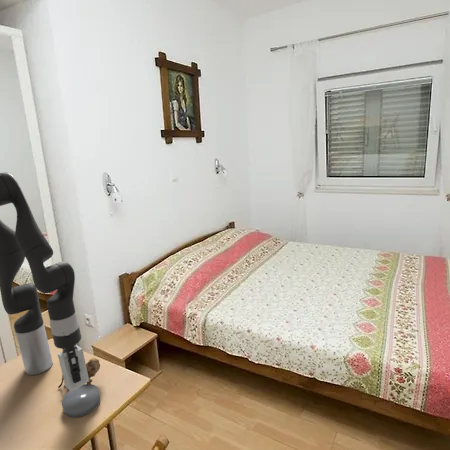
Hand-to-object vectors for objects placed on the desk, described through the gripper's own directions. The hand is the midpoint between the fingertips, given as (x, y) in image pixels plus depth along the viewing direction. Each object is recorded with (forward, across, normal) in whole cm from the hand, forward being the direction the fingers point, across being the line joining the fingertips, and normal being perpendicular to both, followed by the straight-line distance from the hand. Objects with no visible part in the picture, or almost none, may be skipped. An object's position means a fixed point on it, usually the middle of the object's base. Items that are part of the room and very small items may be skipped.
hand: (75, 376), depth 108 cm
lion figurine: (+11, -10, +2) cm, 15 cm away
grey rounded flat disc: (+11, 0, 0) cm, 11 cm away
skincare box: (+3, 0, 0) cm, 3 cm away
